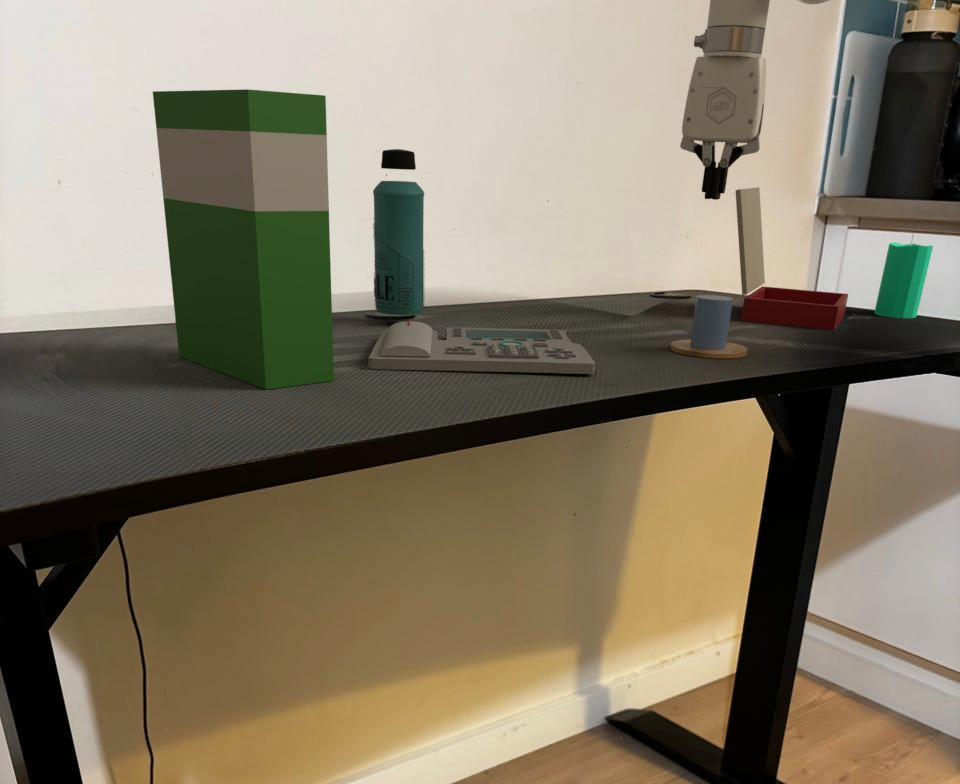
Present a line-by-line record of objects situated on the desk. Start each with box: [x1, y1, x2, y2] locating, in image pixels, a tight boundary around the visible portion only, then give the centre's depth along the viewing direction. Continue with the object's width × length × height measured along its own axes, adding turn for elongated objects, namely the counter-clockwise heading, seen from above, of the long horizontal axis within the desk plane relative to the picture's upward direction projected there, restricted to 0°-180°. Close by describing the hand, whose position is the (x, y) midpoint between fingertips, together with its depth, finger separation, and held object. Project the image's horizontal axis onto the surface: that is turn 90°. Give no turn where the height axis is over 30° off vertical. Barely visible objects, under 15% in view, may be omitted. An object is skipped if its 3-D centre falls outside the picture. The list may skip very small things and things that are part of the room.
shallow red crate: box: [740, 285, 849, 331], centre depth 137 cm, size 12×15×4 cm
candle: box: [874, 232, 934, 319], centre depth 142 cm, size 6×6×12 cm
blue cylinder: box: [690, 294, 734, 349], centre depth 113 cm, size 4×4×6 cm
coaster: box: [670, 338, 749, 360], centre depth 115 cm, size 9×9×1 cm
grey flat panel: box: [735, 186, 766, 296], centre depth 135 cm, size 13×15×1 cm
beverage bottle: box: [372, 148, 426, 316], centre depth 119 cm, size 6×7×20 cm
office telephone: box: [367, 319, 596, 375], centre depth 107 cm, size 23×3×20 cm
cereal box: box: [152, 88, 335, 390], centre depth 91 cm, size 18×7×24 cm, turn 41°
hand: (712, 198), depth 135 cm, fingers closed
